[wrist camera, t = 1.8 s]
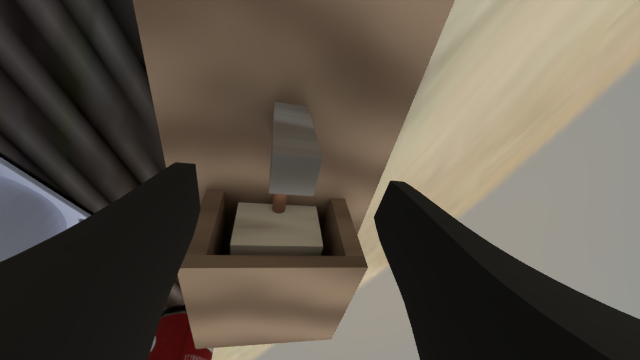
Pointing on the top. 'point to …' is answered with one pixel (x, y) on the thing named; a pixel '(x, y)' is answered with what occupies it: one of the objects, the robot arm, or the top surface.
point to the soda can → (176, 340)
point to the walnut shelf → (256, 135)
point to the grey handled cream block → (284, 193)
